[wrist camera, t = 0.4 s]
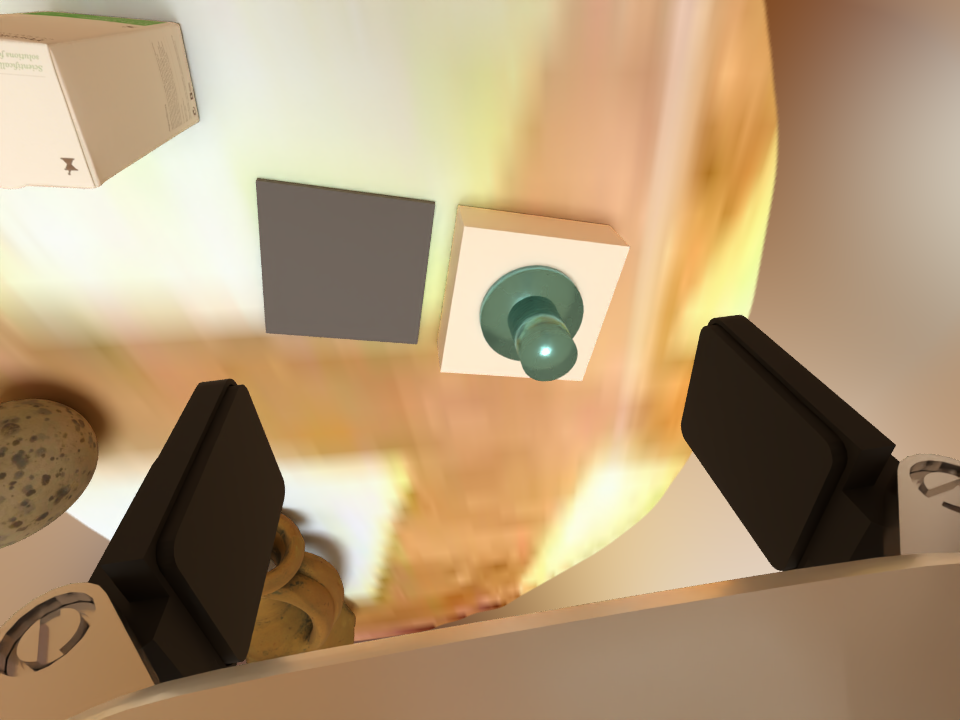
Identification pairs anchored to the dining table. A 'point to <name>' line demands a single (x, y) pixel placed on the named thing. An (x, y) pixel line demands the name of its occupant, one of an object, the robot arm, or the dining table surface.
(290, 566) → the brown looped sculpture
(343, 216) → the mat
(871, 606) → the robot arm
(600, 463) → the dining table surface
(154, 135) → the skincare box
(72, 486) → the decorative egg
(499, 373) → the housing
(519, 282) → the end cover
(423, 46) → the dining table surface
